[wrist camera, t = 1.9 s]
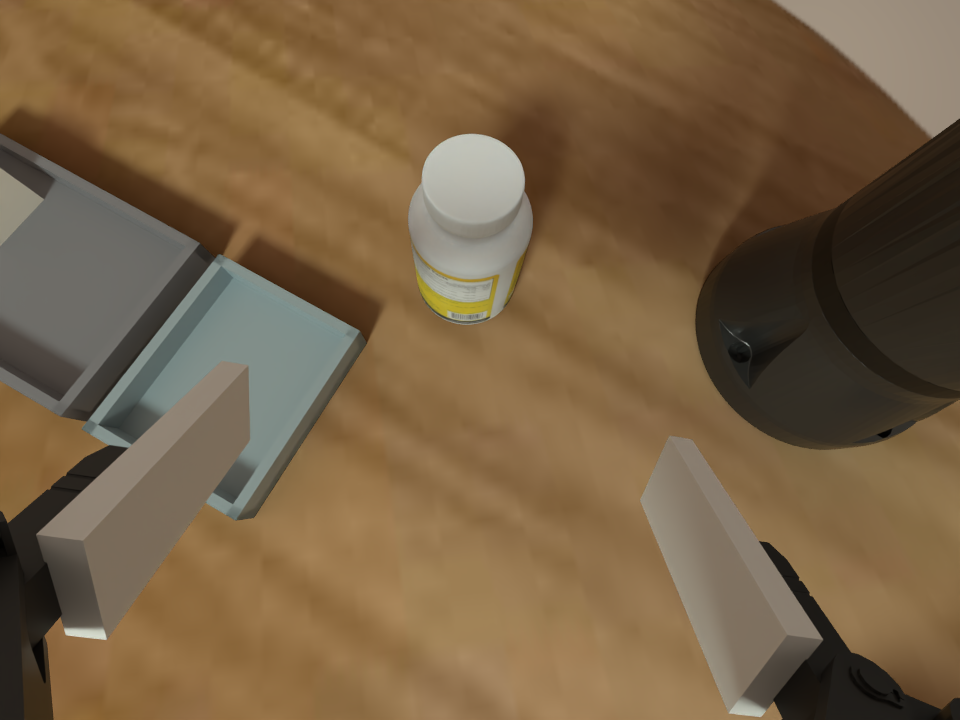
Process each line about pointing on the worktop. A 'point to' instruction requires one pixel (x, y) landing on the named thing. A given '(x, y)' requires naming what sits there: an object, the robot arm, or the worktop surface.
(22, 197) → the letter cube
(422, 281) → the pill bottle
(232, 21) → the worktop surface
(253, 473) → the slate tray
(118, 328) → the charcoal tray
